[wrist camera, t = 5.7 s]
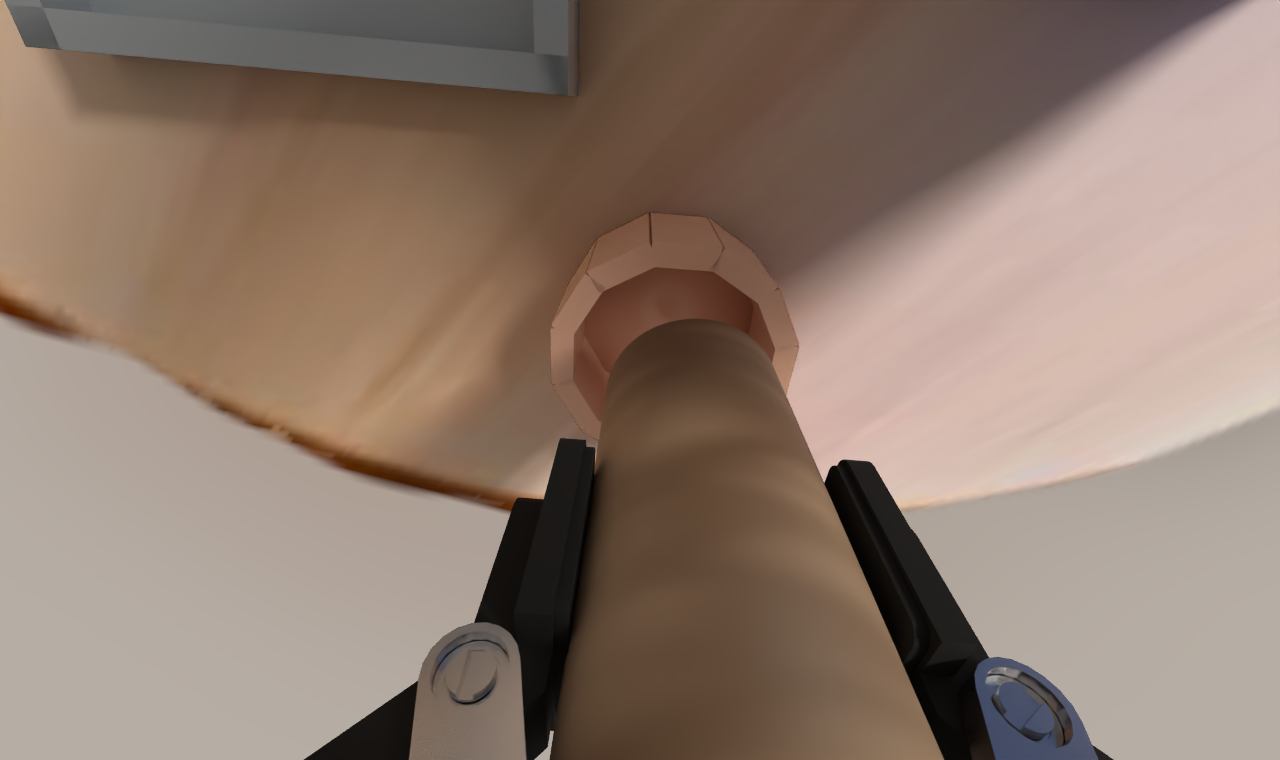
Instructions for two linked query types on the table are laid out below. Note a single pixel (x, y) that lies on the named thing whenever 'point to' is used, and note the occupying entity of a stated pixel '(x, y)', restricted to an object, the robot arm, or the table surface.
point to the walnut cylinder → (722, 578)
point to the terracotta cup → (659, 302)
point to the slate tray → (330, 36)
